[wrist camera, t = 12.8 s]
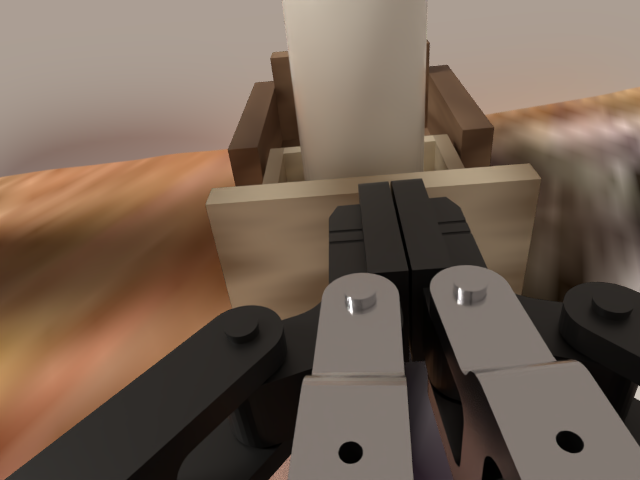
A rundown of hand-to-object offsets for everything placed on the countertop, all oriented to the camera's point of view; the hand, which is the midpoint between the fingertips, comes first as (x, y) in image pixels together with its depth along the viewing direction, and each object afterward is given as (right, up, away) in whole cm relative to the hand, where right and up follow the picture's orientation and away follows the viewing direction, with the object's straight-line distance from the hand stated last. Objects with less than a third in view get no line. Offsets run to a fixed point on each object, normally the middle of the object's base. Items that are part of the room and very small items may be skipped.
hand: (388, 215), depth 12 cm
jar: (+1, 0, +12) cm, 12 cm away
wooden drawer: (+1, -1, +14) cm, 14 cm away
